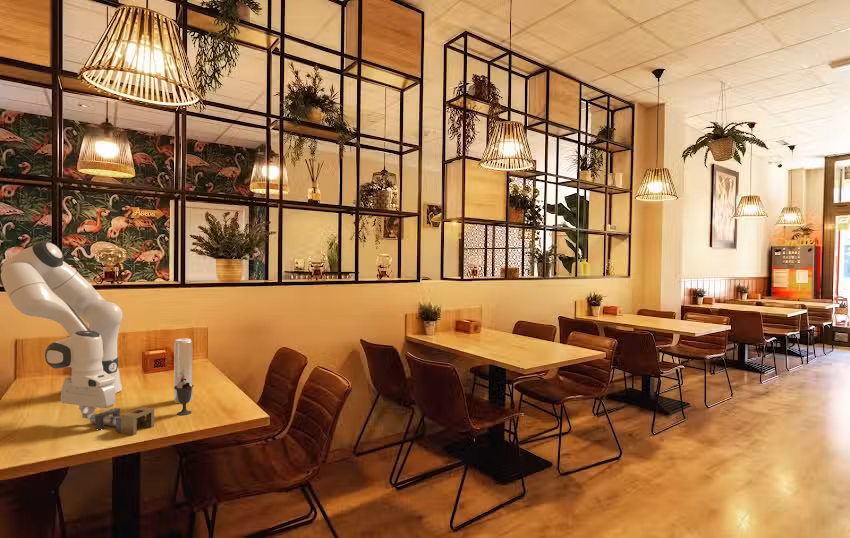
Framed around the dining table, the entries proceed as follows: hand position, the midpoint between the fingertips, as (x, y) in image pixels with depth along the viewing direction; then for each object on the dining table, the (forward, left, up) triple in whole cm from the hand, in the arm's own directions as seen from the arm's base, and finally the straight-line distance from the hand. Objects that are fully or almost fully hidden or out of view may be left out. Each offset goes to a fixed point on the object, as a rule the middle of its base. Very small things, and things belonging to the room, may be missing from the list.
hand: (87, 417), depth 160 cm
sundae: (+23, +18, -2) cm, 30 cm away
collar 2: (+17, 0, -2) cm, 17 cm away
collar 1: (+8, 0, -2) cm, 9 cm away
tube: (+10, 0, -2) cm, 11 cm away
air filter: (+12, +30, -2) cm, 33 cm away
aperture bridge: (+21, 0, -2) cm, 21 cm away
